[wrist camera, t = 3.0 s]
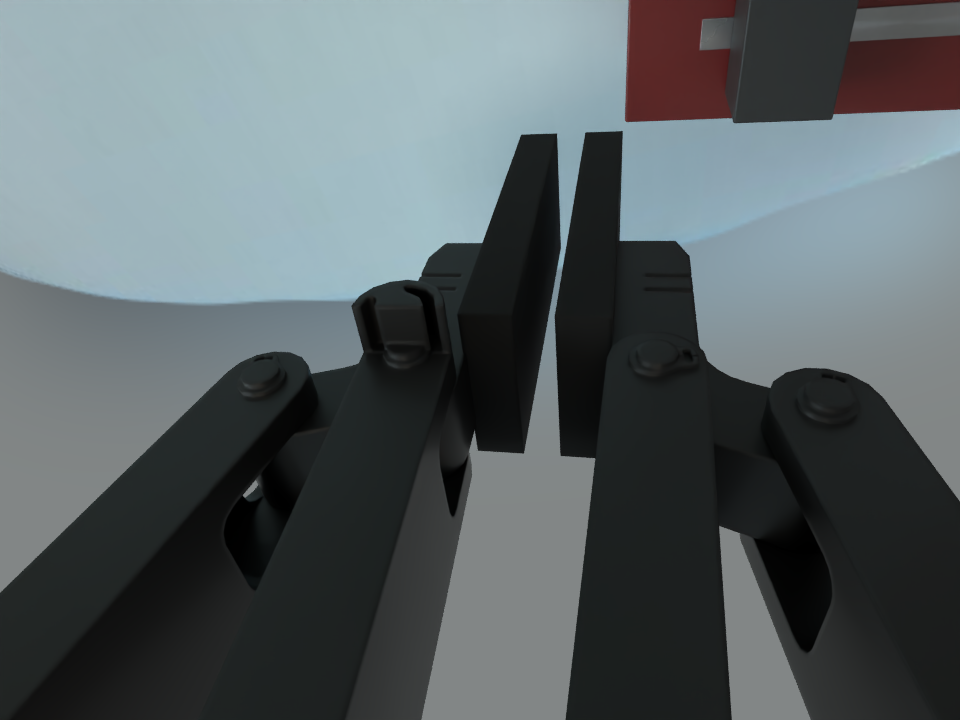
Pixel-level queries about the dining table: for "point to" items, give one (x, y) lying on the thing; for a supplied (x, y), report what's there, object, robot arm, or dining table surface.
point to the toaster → (866, 75)
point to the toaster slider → (787, 59)
